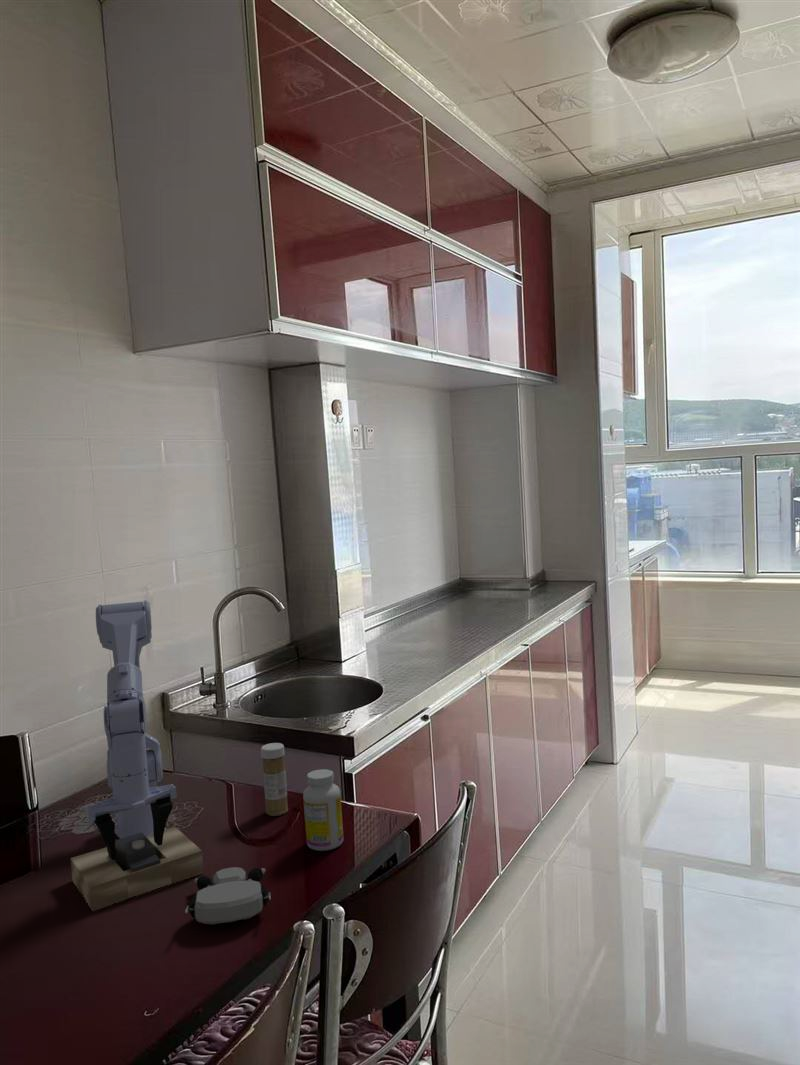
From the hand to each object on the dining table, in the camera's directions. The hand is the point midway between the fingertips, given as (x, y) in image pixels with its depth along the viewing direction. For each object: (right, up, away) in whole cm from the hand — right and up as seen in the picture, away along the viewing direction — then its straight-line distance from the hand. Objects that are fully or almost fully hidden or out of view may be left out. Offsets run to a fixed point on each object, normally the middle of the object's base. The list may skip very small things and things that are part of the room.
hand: (135, 850), depth 132 cm
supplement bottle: (+31, -3, +9) cm, 32 cm away
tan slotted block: (0, -5, 0) cm, 5 cm away
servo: (0, -5, 0) cm, 5 cm away
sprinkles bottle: (+20, -2, +24) cm, 31 cm away
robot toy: (+18, -5, -11) cm, 22 cm away
